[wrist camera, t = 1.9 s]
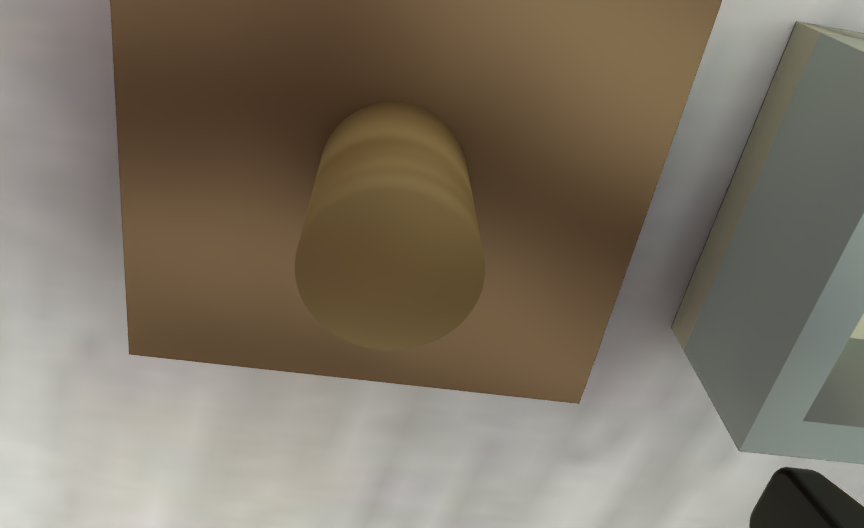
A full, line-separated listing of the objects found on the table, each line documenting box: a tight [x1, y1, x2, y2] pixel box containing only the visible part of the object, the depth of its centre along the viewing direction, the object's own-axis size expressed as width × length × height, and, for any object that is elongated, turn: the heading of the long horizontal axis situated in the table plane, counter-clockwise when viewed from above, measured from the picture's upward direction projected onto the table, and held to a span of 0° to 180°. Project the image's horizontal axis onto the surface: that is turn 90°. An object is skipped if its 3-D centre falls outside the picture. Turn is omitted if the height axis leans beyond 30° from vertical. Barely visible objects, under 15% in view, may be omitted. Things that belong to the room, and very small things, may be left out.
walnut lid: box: [110, 0, 722, 404], centre depth 14 cm, size 11×11×5 cm
